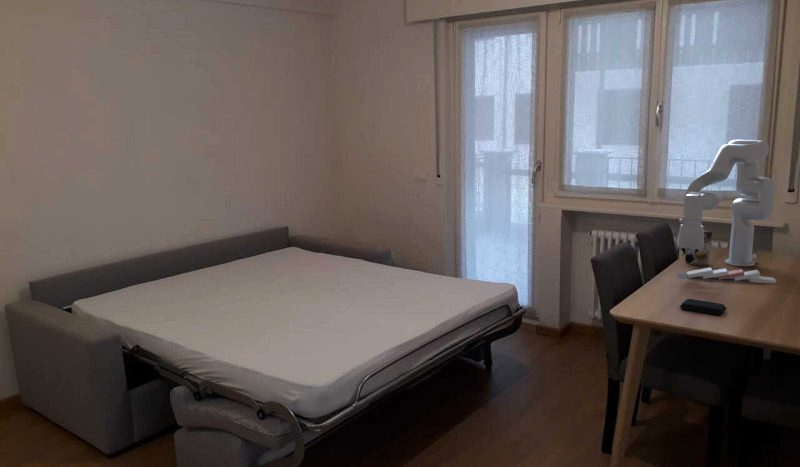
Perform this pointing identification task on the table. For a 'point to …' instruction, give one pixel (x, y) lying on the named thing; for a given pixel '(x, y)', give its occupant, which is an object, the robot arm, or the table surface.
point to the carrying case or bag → (703, 307)
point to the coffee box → (704, 255)
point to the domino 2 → (716, 273)
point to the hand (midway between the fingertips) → (688, 262)
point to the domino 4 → (762, 279)
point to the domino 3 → (748, 275)
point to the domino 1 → (699, 272)
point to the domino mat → (684, 276)
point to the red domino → (732, 274)
